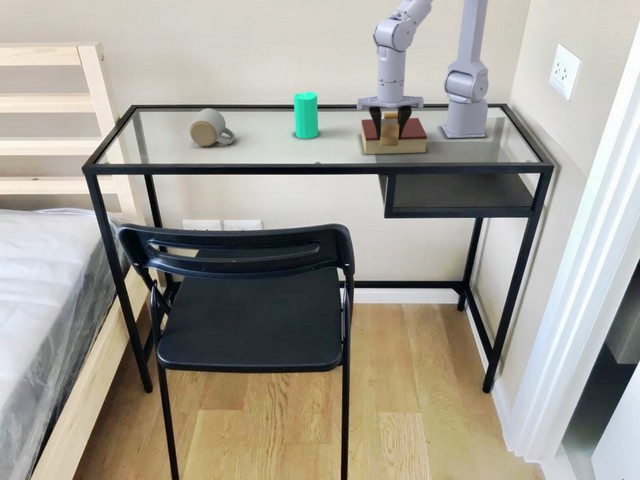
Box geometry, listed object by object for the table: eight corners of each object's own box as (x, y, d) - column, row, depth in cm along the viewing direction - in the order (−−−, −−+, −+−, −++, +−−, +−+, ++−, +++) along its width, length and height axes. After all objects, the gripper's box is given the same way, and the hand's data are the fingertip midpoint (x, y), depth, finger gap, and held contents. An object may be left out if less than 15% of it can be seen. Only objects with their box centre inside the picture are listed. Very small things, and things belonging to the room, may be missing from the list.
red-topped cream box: (425, 152, 129) (426, 138, 127) (365, 154, 129) (365, 140, 127) (417, 133, 139) (418, 120, 137) (361, 135, 139) (361, 122, 137)
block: (395, 139, 124) (396, 118, 121) (398, 145, 121) (399, 124, 118) (378, 139, 124) (379, 119, 121) (380, 146, 121) (381, 125, 118)
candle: (319, 130, 143) (318, 85, 136) (317, 138, 138) (315, 93, 131) (297, 130, 143) (294, 85, 137) (294, 138, 138) (291, 92, 132)
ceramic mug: (190, 147, 135) (185, 118, 131) (199, 135, 142) (195, 107, 137) (231, 149, 134) (228, 119, 130) (238, 136, 141) (235, 108, 137)
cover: (427, 139, 126) (428, 120, 124) (365, 140, 126) (366, 121, 124) (418, 120, 137) (419, 102, 134) (361, 122, 137) (361, 104, 134)
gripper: (358, 85, 111) (358, 146, 119) (428, 83, 111) (423, 144, 119) (356, 75, 117) (355, 134, 124) (422, 73, 117) (417, 132, 124)
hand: (388, 138), depth 122 cm, fingers closed on block, 4 cm apart
